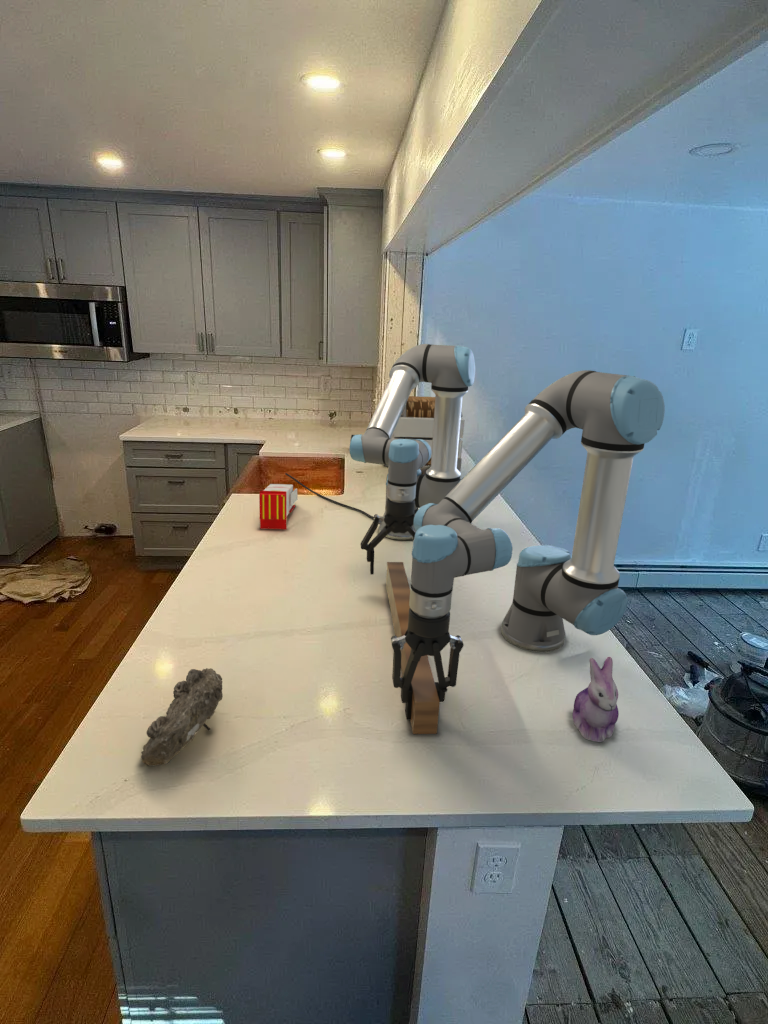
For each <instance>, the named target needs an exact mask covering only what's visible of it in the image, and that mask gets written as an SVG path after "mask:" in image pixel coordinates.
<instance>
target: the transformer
mask: <svg viewBox="0 0 768 1024" xmlns="http://www.w3.org/2000/svg"><path fill="white" fill-rule="evenodd" d="M434 411H435V396H415V395H414V396H413V395H412V396H411V395H410V396H409V398H408V400H407V402H406V405H405V407H404V409H403V411H402V414H401V416H400V418H399V421H398V423H397V425H396V427H395V430H394V432H393V434H392V436H391V439H410V440H414V439H422V440H424V441H426V442H427V443H428V444H429V446H430V448H431V453H432V441H433V426H434ZM464 429H465V419H464V418H463V411H461V422H460V433H459V445H458V457H457V469H458V471H459V472H460V473H461V472H462V461H463V460H462V453H463V442H464V441H463V440H462V439H463V438H464V431H465V430H464ZM431 456H432V454H431ZM383 466H384V467H388V466H387V465H383ZM424 467H431V458H430V460H429V461H428V462H427V464H426V465H425V466H424ZM461 474H462V473H461Z"/></svg>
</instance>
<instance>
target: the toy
mask: <svg viewBox="0 0 768 1024" xmlns="http://www.w3.org/2000/svg"><path fill="white" fill-rule="evenodd" d="M258 495H259V497H258V500H259V501H258V503H259V529H260V530H287V517H288V516H289V514H290V513H292V512H293V510H294V509H295V507H296V504H295V503H296V502H297V501H299V500H298V498H299V496H298V488H295V489H294V484H290V483H289V484H288V483H287V484H284V483H269V485H268V486H266V487H265V489H263V490H259V494H258Z"/></svg>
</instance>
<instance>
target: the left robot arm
mask: <svg viewBox="0 0 768 1024" xmlns="http://www.w3.org/2000/svg"><path fill="white" fill-rule="evenodd" d="M475 377H476V361H475V355H474V352H473V350H472V349H471V348H470V347H467V346H461V345H451V344H450V345H449V344H432V343H431V344H430V343H421V344H418V345H415V346H412V347H411V348H409V349H407V350H406V351H404V352H403V353H402V354H401V355H400V356H399V357H398V358H397V359H396V360H395V362H393V364H392V367H391V368H390V370H389V374H388V378H389V380H388V382H387V384H386V387H385V388H384V391H383V393H382V395H381V397H380V399H379V401H378V403H377V406H376V408H375V410H374V412H373V414H372V417H371V419H370V421H369V423H368V425H367V427H366V429H365V432H364V433H363V434H362V433H361V434H354V435H355V436H353V437H352V439H351V438H350V440H351V442H349V455H350V458H351V459H352V460H353V461H355V462H360V463H364V464H374V465H382V466H384V465H387V466H388V468H387V472H388V473H387V475H386V482H385V504H384V505H385V507H384V508H385V509H384V513H383V515H382V516H381V515H378V513H375V514H374V515H370V514H369V513H368V512H366V511H364V510H362V509H359V508H357V507H354V506H350V505H348V504H344V503H342V502H339V501H337V500H334V499H331V498H329V497H327V496H324V495H323V494H320V493H318V492H316V491H315V490H313V489H311V488H309V487H308V486H306V485H305V484H303V483H302V482H300V481H299V480H298V479H296V478H295V477H293V476H292V475H290V474H288V472H285V473H284V474H285V476H287V477H289V478H290V479H291V480H293V481H294V482H296V483H297V484H298V485H300V486H301V487H303V488H304V489H306V490H308V491H309V492H310V493H312V494H314V495H316V496H317V497H320V498H322V499H324V500H326V501H329V502H331V503H334V504H336V505H339V506H341V507H345V508H347V509H350V510H353V511H357V512H359V513H362V514H363V515H365V516H367V517H368V518H370V519H372V523H371V524H370V526H369V528H368V530H367V531H366V533H365V535H364V536H363V538H362V540H361V542H360V549H361V550H365V551H366V562H367V563H370V564H369V572H370V575H374V569H375V548H376V547H377V546H378V545H379V544H380V543H381V542H382V541H383V540H384V539H385V538H387V539H389V540H395V541H410V540H414V537H415V533H416V530H415V528H414V517H415V514H416V512H417V511H418V510H419V508H420V507H422V506H423V505H426V504H429V503H434V504H439V503H440V502H441V501H442V500H443V499H444V498H445V496H446V495H447V494H448V493H449V492H450V491H451V490H452V489H453V488H454V487H455V486H456V485H457V484H458V483H459V482H460V481H461V480H462V479H463V478H461V475H462V473H460V472H459V471H458V469H457V457H458V445H459V433H460V422H461V418H462V417H461V412H462V409H463V408H462V407H463V398H464V395H466V394H467V393H468V392H469V388H471V387H472V386H474V383H475ZM419 383H430V384H431V385H430V389H431V391H432V392H433V393H434V395H435V396H434V397H435V411H434V426H433V441H432V453H431V448H430V446H429V444H428V443H427V442H426V441H424V440H422V439H414V440H410V439H391V436H392V434H393V432H394V430H395V427H396V425H397V423H398V421H399V418H400V416H401V414H402V411H403V409H404V407H405V405H406V402H407V400H408V398H409V396H411V393H412V391H413V390H414V389H416V388H417V387H418V385H419ZM431 454H432V456H431ZM430 458H431V465H430V466H429V468H427V469H426V470H425V473H422V469H421V468H423V467H426V466H425V465H426V464H427V462H428V461H429V460H430ZM387 466H386V467H387ZM377 529H378V534H376V535H375V536H374V537H373V535H374V534H375V532H376V530H377ZM372 537H373V539H372ZM371 539H372V540H371Z"/></svg>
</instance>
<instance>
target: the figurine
mask: <svg viewBox="0 0 768 1024" xmlns="http://www.w3.org/2000/svg"><path fill="white" fill-rule="evenodd" d="M613 663H614V660H613V657H611V656H607V657H606V658H605V659H604V663H603V665H602V667H600V665H599V663H598V662H597V661H596V660H595V659H594V658H593V657H590V658H589V675H590V676H589V677H590V682H589V684H588V686H587V687H586V688H584V689H583V690H580V691H579V692H578V693H577V694H576V696H575V698H574V701H573V710H572V713H571V714H572V722H573V724H574V727H575V728H576V729H577V730H578V731H579V733H580V734H581V736H582V738H584V739H586V740H588V741H592V742H597V743H602V742H604V741H605V739H610V738H611V737H612V735H613V733H614V730H615V726H616V723H617V722H618V720H619V714H620V713H619V707H618V703H617V702H618V700H619V690H618V687H617V684H616V682H615V680H614V678H613V672H614V671H613V670H614V669H613V667H614V664H613Z"/></svg>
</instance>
